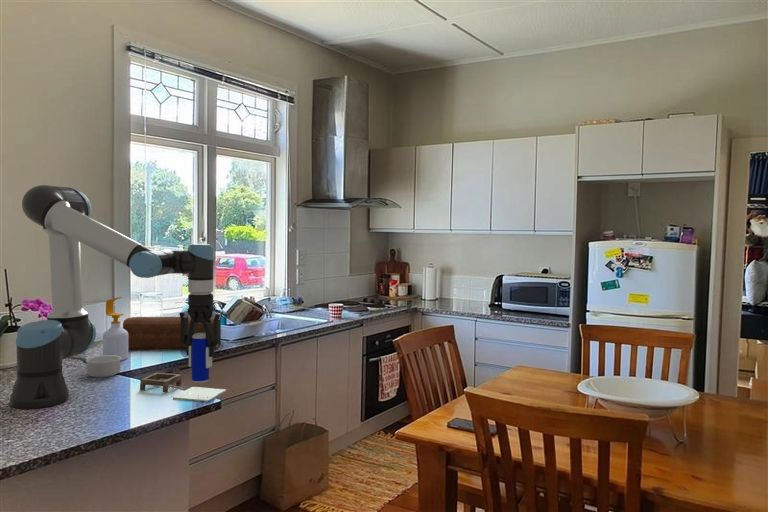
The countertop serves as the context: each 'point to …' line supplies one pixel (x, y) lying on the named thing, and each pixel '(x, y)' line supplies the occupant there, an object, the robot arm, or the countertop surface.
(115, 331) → the soap bottle
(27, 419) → the countertop surface
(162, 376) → the brown square stand
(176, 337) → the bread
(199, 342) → the beverage can
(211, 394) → the coaster
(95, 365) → the saucepan
